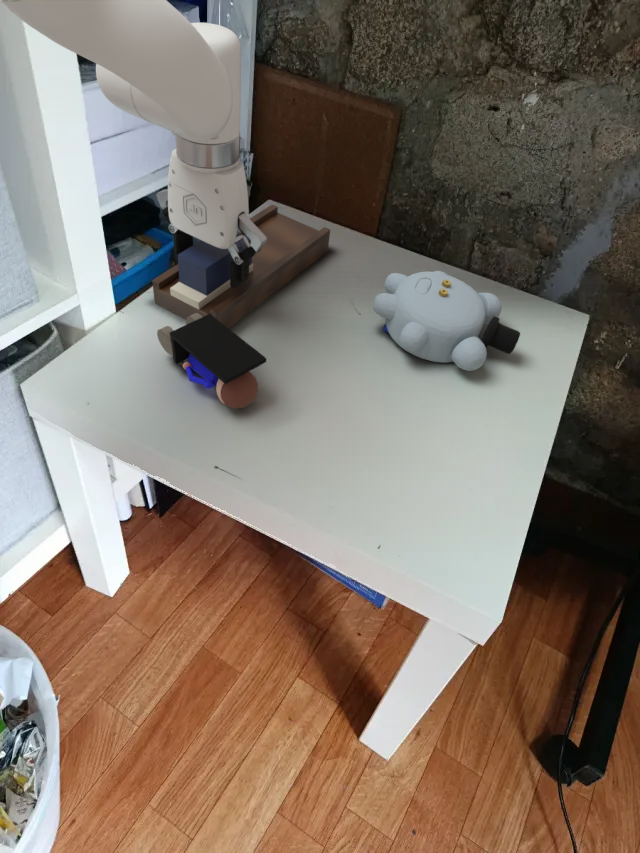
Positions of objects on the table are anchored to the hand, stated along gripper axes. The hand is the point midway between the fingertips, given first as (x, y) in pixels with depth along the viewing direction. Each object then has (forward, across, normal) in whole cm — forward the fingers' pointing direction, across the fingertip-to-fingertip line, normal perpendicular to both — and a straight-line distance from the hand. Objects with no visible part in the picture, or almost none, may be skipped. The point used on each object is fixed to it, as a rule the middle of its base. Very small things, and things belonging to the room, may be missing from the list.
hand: (211, 269), depth 88 cm
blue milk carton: (+2, 0, 0) cm, 2 cm away
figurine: (+5, +30, +14) cm, 34 cm away
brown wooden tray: (+5, 0, +8) cm, 10 cm away
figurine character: (+6, +10, -13) cm, 17 cm away
